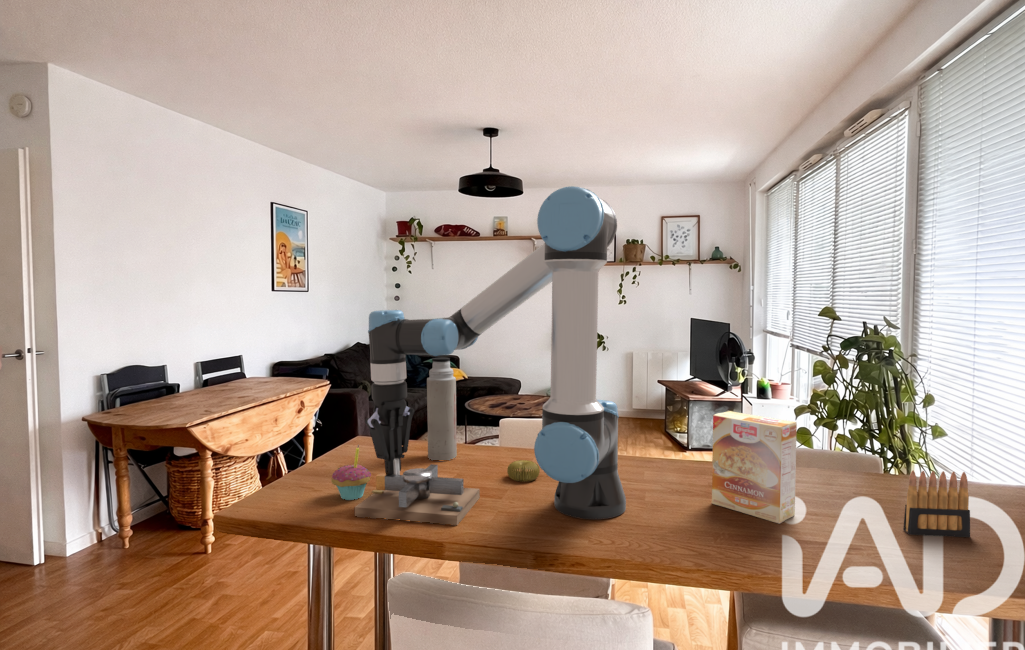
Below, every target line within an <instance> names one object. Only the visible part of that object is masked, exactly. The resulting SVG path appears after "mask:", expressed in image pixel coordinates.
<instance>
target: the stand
mask: <svg viewBox="0 0 1025 650" xmlns="http://www.w3.org/2000/svg"><path fill="white" fill-rule="evenodd" d="M463 490H464V493H463V494H462V495H450V494H435V493H430V496H429V497H428V498H425V499H415V500H414V501H413V502H412V503H411V504H410V505H409V506H408V507H399V491H389V490H376V489H373V490H372V491H371V493H372V494H371V495H369V496H368V497H367V498H365V499H363V500H362V501H361V502H359V503H358V504H357V505H356V506H354V517H355V516H357V517H356V518H365V517H368V519H376V518H386V519H385V520H388V519H400V520H410V521H420V522H419V523H422V522H430V523H429V524H433V523H440V524H439V525H445V524H451V525H450V526H456V525H457V526H458V525H459V524H460V523H461V521H462V520H463V519H464V518H465V516H467V514H468V513H469V511H471V510H472V508H473V506H474V505H475V504H476V503H477V501H478V500H479V499H480V493H481V492H480V488H475V487H474V488H471V487H463ZM369 517H370V518H369ZM410 521H409V522H410ZM459 522H460V523H459Z"/></svg>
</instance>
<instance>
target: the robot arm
mask: <svg viewBox="0 0 1025 650" xmlns="http://www.w3.org/2000/svg"><path fill="white" fill-rule="evenodd" d="M536 221H537V223H536V224H537V230H538V233H539V236H540V237H541V240H542V242H544V243H543V244H541V245H540V246H538V247H537V248H536V249H535V250H533V251H532V252H531V253H530V254H528V255H527V256H526V257H524V259H522V260H521V261H519V262H518V263H517V264H516V265H514V266H512V268H510V269H509V270H508V271H507V272H505V273H504V274H503V275H502V276H500V277H499V278H498V279H496V280H495V281H494V282H492V283H491V284H490V285H489V286H487V287H486V288H485V289H483V290H482V291H481V292H480V293H478V294H477V295H476V296H475V297H473V298H472V299H471V300H469V301H468V302H467V303H466V304H465V305H463V306H462V307H460V309H458V310H456V311H455V312H454V313H453V314H451V316H449V317H438V318H424V319H423V318H421V319H407V318H405V314H404V311H403V310H401V309H385V310H384V309H382V310H374V311H371V312H370V313H369V315H368V329H367V333H368V342H369V353H370V354H369V355H370V361H369V362H370V379H371V381H372V384H371V385H370V386H371V399H372V401H373V402H374V406H373V410H372V412H373V414H372V415H371V416H370V417H366V418H365V420H364V423H365V424H366V426H367V428H368V429H369V434H370V437H371V441H372V444H373V448H374V452H375V455H376V458H377V459H380V460H384V471H385V472H384V474H388V475H401V470H402V459H404V458H405V453H407V452H408V450H409V442H410V436H411V435H410V433H411V427H412V426H411V425H412V419H413V416H414V415H415V409H414V407H409V406H407V401H406V400H405V399H407V397H408V384H407V382H406V379H407V377H408V376H407V363H406V362H407V361H406V357H407V356H409V355H413V356H414V355H417V356H433V357H440V356H450V355H452V354H453V353H454V351H456V350H458V351H459V350H464V349H467V348H469V347H472V346H473V345H475V343H476V342H477V340H478V338H479V336H481V335H482V334H484V333H485V332H487V330H490V328H491V327H492V326H494V325H495V324H498V322H499V321H501V320H502V319H503V318H505V317H507V316H508V315H509V314H510V313H511V312H513V311H514V310H516V309H517V308H519V307H520V306H521V305H522V304H524V303H526V301H528V300H529V299H531V298H532V297H533V296H535V295H537V293H539V292H540V291H541V290H543V289H544V288H545V287H547V286H548V285H550V283H551V284H552V286H551V334H550V335H551V337H550V338H551V343H550V347H551V349H550V352H551V353H550V355H551V356H550V397H549V399H548V400H546V402H544V404H542V409H541V410H542V412H541V413H542V415H541V416H542V417H541V430H539V432H538V434H537V436H536V438H535V441H534V447H533V449H534V450H533V451H534V452H533V453H534V456H535V461H536V462H537V463H536V464H537V465H538V467H539V469H541V470H542V471H543V472H544V474H546V475H547V477H549V478H551V479H553V480H555V481H557V485H556V486H557V487H556V488H555V493H554V497H553V499H554V501H553V503H554V505H553V506H554V508H555V510H557V511H558V512H559V513H561V514H562V515H565V516H569V517H572V518H577V519H582V520H583V519H585V520H605V519H610V518H615V517H618V516H620V515H622V514H624V513H625V511H626V509H627V497H626V494H625V491H624V488H623V485H622V481H621V478H620V474H619V472H618V469H619V467H618V466H619V465H618V463H619V462H618V459H619V458H618V457H619V454H618V453H619V451H618V449H619V444H618V443H619V441H618V439H619V432H618V431H619V418H620V417H619V409H618V405H617V403H615V402H614V401H612V400H604V399H597V371H598V370H597V367H598V366H597V365H598V362H597V359H598V357H597V356H598V355H597V354H598V308H599V305H598V304H599V272H600V270H601V269H602V268H603V267H604V266H605V265H606V264H607V263H608V247H610V245H611V244H612V243H613V241H614V239H615V237H616V234H617V230H618V220H617V215H616V213H615V211H614V209H613V208H612V206H611V205H610V204H609V203H608V202H607V201H606V200H604V199H602V198H600V197H599V196H598V195H597V194H596V193H595V192H593V191H592V190H590V189H588V188H585V187H580V186H573V185H571V186H570V185H569V186H564V187H561V188H558V189H556V190H554V191H553V192H552V193H550V194H549V195H548V196H547V197H546V199H544V201H543V202H542V204H541V205H540V207H539V210H538V214H537V219H536Z"/></svg>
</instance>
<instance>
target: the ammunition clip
mask: <svg viewBox="0 0 1025 650" xmlns="http://www.w3.org/2000/svg"><path fill="white" fill-rule="evenodd" d="M937 483H938V484H937ZM927 484H928V485H927ZM947 484H949V485H947ZM917 485H918V486H917ZM937 485H938V486H937ZM968 486H969V484H968V477H967V474H966V472H965V471H963V472H962V473H961V475H960V480H959V489H958V479H957V475H956V472H955V471H952V472H951V474H950V477H949V483H948V482H947V476H946V472H945V471H944V470H943V471H941V473H940V476H939V480H938V481H937V476H936V473H935V471H934V470H932V471H931V473H930V475H929V479H928V483H927V476H926V472H925V470H922V471H921V472H920V476H919V480H918V484H917V475H916V472H915V471H914V470H912V471H911V472H910V474H909V479H908V488H907V491H906V493H907V494H906V504H905V507H904V518H903V528H902V530H903V531H904V532H905V533H906V534H908V535H910V536H931V537H951V538H952V537H953V538H955V537H956V538H971V510H970V509H969V502H970V501H969V499H970V498H969V495H970V494H969V487H968ZM917 487H918V488H917Z"/></svg>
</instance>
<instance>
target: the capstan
mask: <svg viewBox="0 0 1025 650" xmlns="http://www.w3.org/2000/svg"><path fill="white" fill-rule="evenodd" d="M438 467H439V466H438V464H431V463H430V465H428V466H427V467H426V468H418V467H417V468H410V469H407V470H405V471H403V472H402V474H400V475H388V474H386V473H378V474H376V475H375V488H376V489H375V490H389V491H399V507H408V506H409V505H410V504H411V503H412V502H413V501H414V500H415V499H425V498H428V497H429V496H430V493H435V494H450V495H462V494H463V493H464V490H463V488H464V478H457V477H456V478H455V477H443V476H442V477H440V476H439V475H438Z"/></svg>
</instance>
